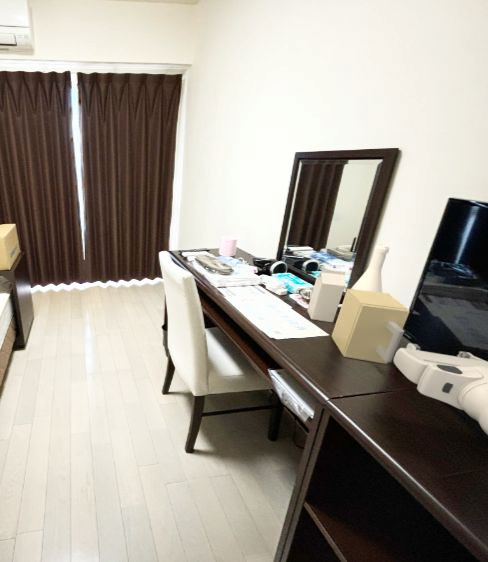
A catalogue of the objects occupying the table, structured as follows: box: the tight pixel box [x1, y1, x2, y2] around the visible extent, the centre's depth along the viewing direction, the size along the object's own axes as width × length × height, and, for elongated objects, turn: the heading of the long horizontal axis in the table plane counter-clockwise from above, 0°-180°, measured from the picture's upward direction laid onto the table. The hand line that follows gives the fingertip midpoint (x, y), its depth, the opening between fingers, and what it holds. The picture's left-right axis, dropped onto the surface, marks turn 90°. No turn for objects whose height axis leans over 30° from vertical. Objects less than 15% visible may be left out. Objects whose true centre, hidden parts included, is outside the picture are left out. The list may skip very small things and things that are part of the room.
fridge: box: [331, 288, 408, 356], centre depth 94 cm, size 11×11×18 cm
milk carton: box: [307, 269, 346, 323], centre depth 113 cm, size 7×7×19 cm
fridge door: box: [342, 304, 410, 365], centre depth 87 cm, size 6×11×18 cm, turn 72°
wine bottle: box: [350, 244, 390, 293], centre depth 107 cm, size 10×10×30 cm
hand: (436, 350), depth 69 cm, fingers open, 8 cm apart
